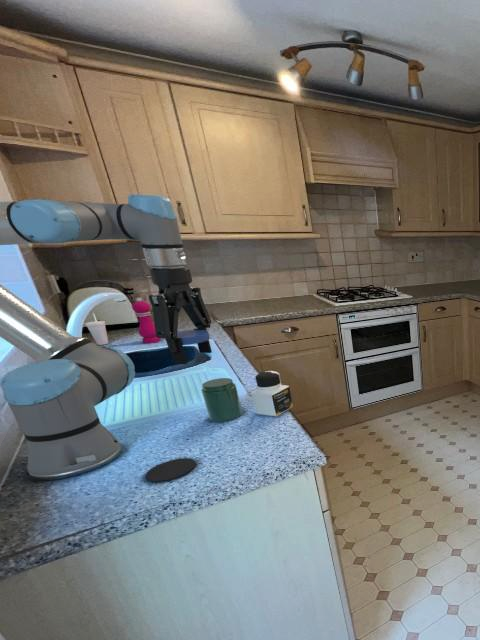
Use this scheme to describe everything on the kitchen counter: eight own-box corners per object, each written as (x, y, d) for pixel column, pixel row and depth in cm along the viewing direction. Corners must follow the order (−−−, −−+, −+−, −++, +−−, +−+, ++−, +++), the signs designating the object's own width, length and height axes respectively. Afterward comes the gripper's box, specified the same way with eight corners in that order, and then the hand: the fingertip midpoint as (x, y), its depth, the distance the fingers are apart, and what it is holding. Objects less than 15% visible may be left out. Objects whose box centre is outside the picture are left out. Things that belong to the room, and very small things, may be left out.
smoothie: (114, 343, 181) (103, 312, 176) (95, 346, 176) (83, 314, 171) (109, 341, 185) (98, 310, 179) (90, 344, 180) (78, 313, 174)
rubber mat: (134, 482, 87) (133, 480, 87) (167, 459, 96) (167, 457, 96) (176, 483, 88) (175, 481, 87) (205, 460, 96) (205, 458, 96)
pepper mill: (162, 338, 191) (148, 295, 183) (162, 341, 185) (148, 298, 178) (142, 340, 186) (127, 297, 179) (141, 344, 181) (126, 299, 174)
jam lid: (177, 337, 105) (175, 330, 104) (215, 335, 107) (213, 328, 106) (161, 346, 97) (159, 338, 96) (202, 344, 99) (200, 337, 99)
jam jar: (204, 423, 113) (194, 388, 109) (216, 411, 120) (207, 378, 116) (237, 420, 115) (228, 386, 111) (246, 408, 122) (238, 376, 118)
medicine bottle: (276, 416, 117) (268, 378, 113) (255, 414, 119) (246, 376, 114) (293, 406, 124) (286, 370, 120) (273, 404, 125) (265, 368, 121)
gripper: (149, 272, 86) (178, 372, 94) (214, 263, 105) (233, 346, 114) (112, 271, 85) (145, 371, 94) (184, 262, 105) (206, 345, 113)
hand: (193, 357), depth 104 cm, fingers closed on jam lid, 8 cm apart
